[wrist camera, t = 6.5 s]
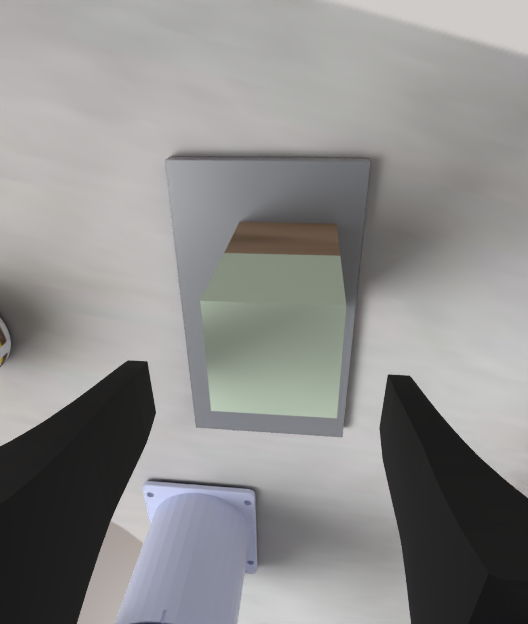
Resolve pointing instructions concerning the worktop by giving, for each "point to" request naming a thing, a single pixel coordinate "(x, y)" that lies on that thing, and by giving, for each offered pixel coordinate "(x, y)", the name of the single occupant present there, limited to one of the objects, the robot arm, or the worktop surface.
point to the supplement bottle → (4, 343)
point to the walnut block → (285, 239)
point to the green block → (275, 334)
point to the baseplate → (260, 208)
